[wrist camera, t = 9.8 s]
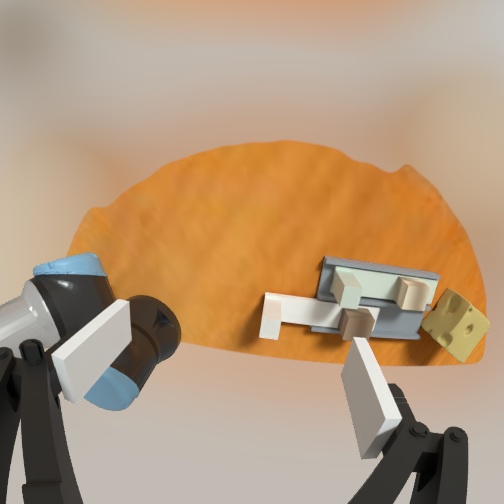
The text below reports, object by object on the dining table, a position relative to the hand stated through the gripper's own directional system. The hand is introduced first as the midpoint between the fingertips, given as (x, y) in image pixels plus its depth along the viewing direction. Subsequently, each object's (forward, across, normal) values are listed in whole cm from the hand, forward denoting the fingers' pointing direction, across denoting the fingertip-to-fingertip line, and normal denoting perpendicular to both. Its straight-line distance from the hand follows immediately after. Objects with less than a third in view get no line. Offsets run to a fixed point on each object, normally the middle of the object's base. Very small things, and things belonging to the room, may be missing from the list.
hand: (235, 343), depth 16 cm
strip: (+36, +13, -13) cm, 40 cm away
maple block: (+35, +28, -6) cm, 45 cm away
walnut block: (+35, +18, -14) cm, 41 cm away
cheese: (+37, +42, -12) cm, 57 cm away
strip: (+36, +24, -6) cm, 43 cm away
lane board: (+37, +23, -10) cm, 44 cm away
